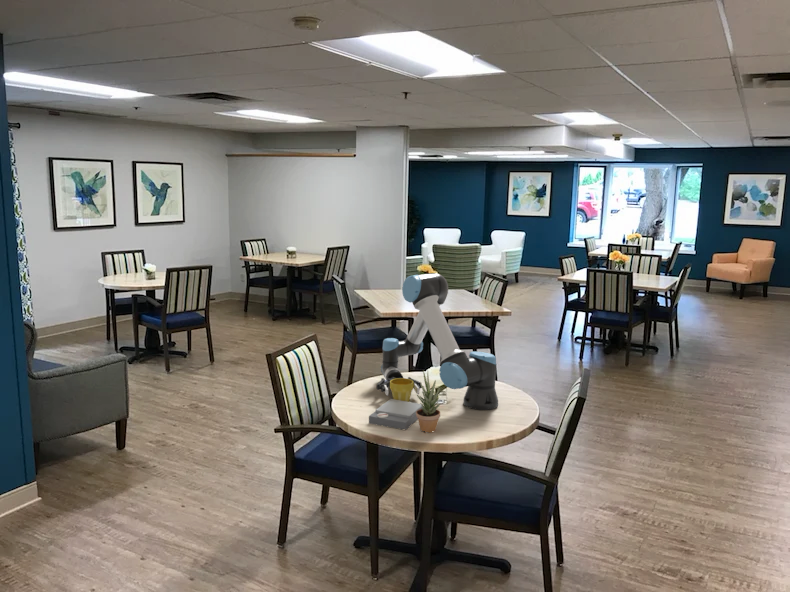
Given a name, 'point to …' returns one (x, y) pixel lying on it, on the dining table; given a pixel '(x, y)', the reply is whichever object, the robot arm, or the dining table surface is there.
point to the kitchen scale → (395, 414)
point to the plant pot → (401, 388)
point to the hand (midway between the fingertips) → (402, 391)
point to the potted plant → (428, 408)
